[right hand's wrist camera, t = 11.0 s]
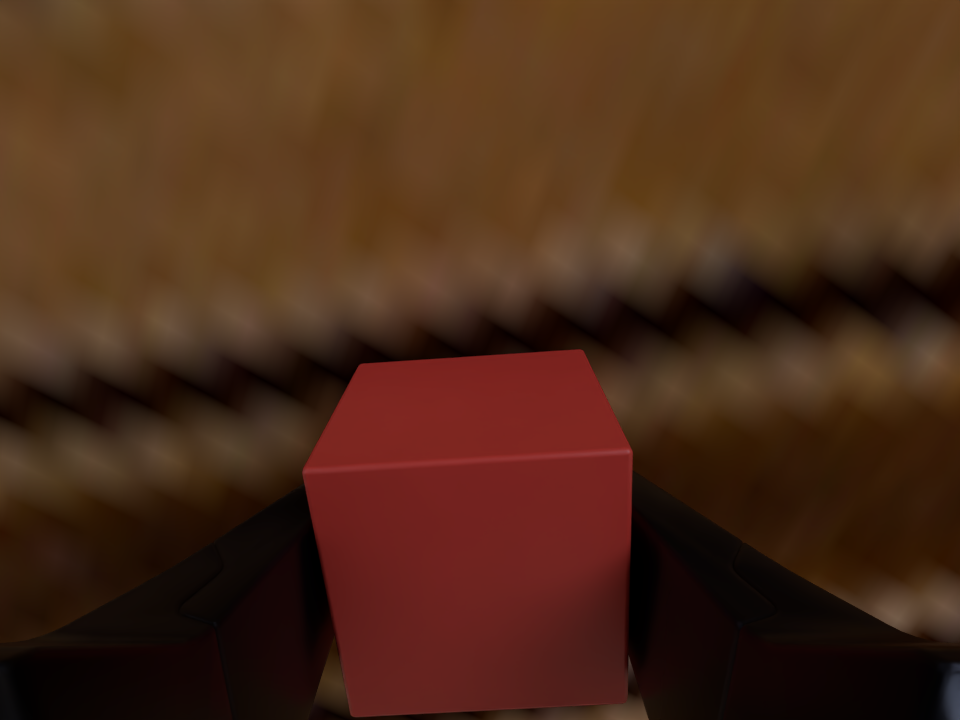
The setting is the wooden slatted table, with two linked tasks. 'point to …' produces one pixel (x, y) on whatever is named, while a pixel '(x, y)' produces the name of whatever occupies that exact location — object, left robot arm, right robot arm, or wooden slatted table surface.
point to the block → (475, 535)
